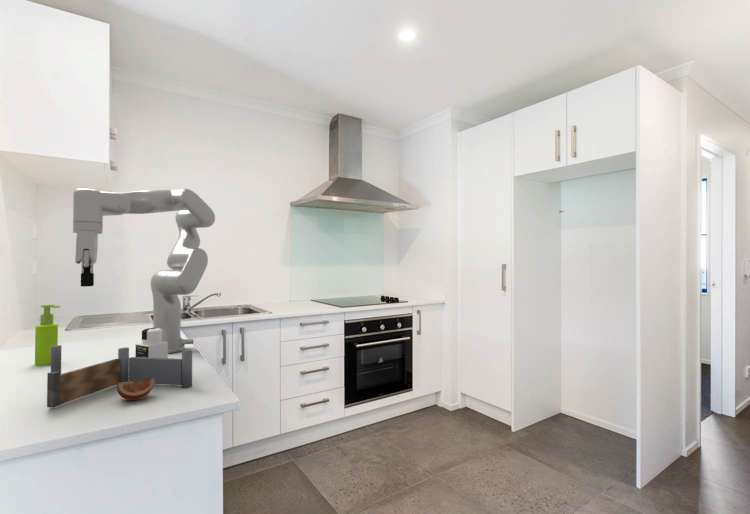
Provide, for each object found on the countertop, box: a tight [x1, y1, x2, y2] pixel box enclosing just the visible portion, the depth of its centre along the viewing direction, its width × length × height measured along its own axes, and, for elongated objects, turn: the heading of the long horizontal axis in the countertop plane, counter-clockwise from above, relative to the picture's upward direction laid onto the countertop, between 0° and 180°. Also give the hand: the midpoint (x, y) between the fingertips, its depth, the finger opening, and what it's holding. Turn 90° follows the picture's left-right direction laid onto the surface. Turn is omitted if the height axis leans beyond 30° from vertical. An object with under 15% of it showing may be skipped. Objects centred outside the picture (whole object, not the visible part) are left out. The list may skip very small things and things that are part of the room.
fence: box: [50, 344, 193, 389], centre depth 111 cm, size 44×3×10 cm, turn 83°
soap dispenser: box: [34, 304, 61, 367], centre depth 133 cm, size 6×7×20 cm
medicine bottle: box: [135, 327, 169, 358], centre depth 133 cm, size 7×7×12 cm
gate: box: [46, 358, 120, 409], centre depth 100 cm, size 18×2×8 cm, turn 167°
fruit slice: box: [116, 378, 156, 401], centre depth 98 cm, size 8×7×5 cm
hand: (87, 286), depth 123 cm, fingers closed
